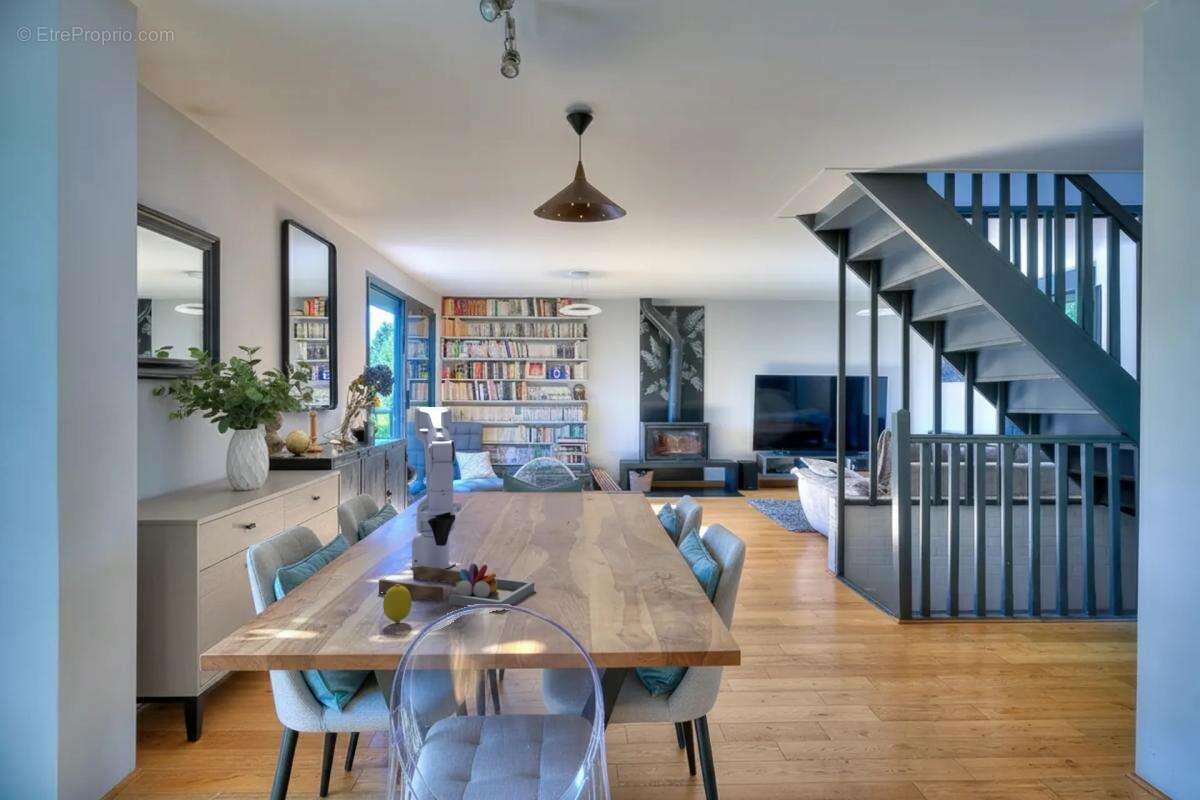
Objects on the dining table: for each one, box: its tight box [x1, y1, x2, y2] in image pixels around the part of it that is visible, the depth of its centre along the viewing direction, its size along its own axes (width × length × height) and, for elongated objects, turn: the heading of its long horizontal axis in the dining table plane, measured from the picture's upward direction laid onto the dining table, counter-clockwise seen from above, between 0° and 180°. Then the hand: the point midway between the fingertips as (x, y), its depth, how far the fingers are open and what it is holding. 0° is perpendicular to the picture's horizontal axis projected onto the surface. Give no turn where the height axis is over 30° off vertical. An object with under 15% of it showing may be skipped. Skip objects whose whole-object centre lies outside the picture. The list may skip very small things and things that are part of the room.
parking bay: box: [448, 577, 535, 607], centre depth 152 cm, size 13×16×2 cm
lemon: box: [382, 584, 413, 624], centre depth 135 cm, size 6×6×8 cm
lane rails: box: [378, 566, 462, 602], centre depth 158 cm, size 17×14×3 cm
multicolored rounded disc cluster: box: [455, 563, 498, 599], centre depth 154 cm, size 8×10×7 cm
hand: (441, 545), depth 163 cm, fingers closed
